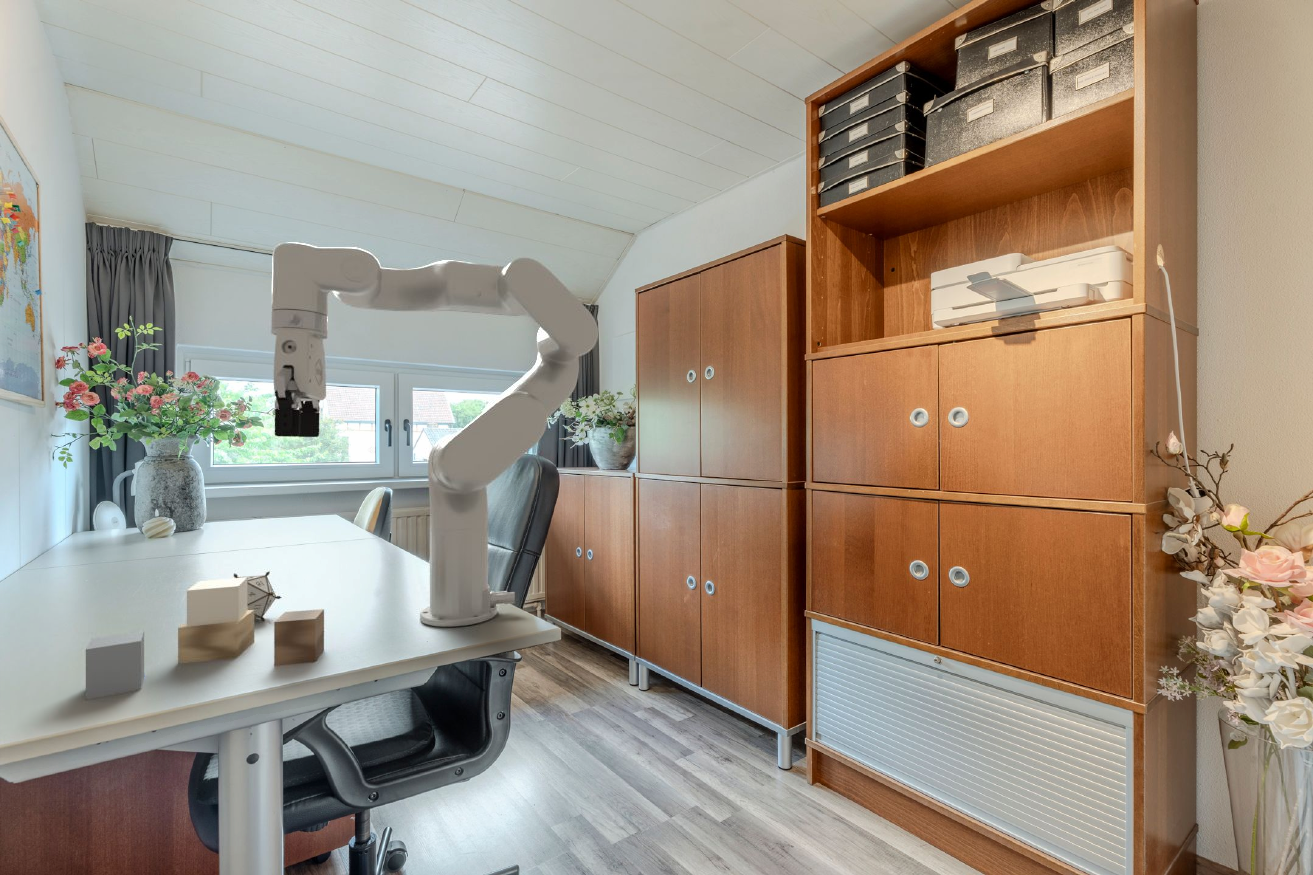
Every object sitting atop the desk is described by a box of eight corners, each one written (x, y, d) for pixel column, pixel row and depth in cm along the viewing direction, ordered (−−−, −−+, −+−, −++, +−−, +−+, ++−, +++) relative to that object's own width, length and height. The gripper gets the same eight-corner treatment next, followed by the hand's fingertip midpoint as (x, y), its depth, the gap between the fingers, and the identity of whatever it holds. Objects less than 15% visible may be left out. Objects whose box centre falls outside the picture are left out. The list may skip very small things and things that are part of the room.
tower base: (254, 642, 92) (254, 609, 92) (236, 658, 86) (236, 623, 86) (200, 647, 90) (200, 613, 90) (178, 664, 84) (178, 627, 84)
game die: (251, 645, 102) (239, 607, 96) (211, 624, 103) (197, 585, 97) (295, 607, 109) (286, 570, 103) (257, 588, 110) (247, 550, 105)
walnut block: (323, 650, 89) (324, 609, 89) (315, 662, 84) (315, 618, 84) (285, 653, 87) (285, 611, 87) (274, 666, 83) (274, 621, 83)
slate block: (144, 676, 79) (144, 630, 79) (141, 689, 75) (140, 640, 75) (92, 686, 76) (91, 638, 76) (85, 700, 72) (85, 649, 72)
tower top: (247, 610, 92) (247, 577, 92) (238, 621, 87) (238, 586, 87) (199, 615, 90) (198, 581, 90) (186, 626, 84) (186, 590, 84)
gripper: (310, 317, 87) (308, 436, 87) (340, 337, 104) (339, 437, 104) (250, 313, 85) (248, 435, 85) (291, 334, 102) (289, 436, 102)
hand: (298, 436), depth 94 cm, fingers open, 9 cm apart
